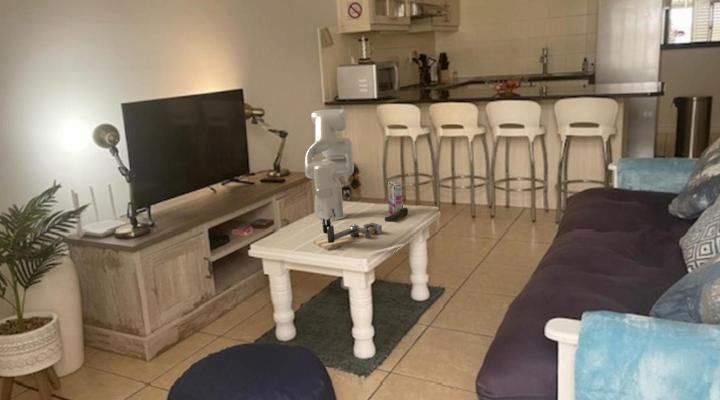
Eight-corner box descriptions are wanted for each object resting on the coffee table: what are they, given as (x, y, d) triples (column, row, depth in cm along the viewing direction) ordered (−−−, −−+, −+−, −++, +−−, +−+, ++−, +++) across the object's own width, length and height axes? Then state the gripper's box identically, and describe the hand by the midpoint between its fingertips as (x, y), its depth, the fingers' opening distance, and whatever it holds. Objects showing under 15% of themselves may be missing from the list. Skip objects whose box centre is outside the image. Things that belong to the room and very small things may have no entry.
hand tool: (391, 224, 292) (390, 215, 291) (384, 223, 294) (384, 214, 293) (412, 215, 306) (412, 207, 305) (406, 214, 309) (405, 206, 308)
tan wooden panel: (313, 243, 268) (313, 232, 267) (369, 230, 283) (368, 220, 282) (327, 250, 257) (326, 239, 256) (384, 236, 273) (383, 225, 271)
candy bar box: (404, 215, 307) (402, 184, 303) (395, 216, 305) (393, 185, 302) (397, 210, 317) (396, 180, 313) (388, 211, 316) (387, 181, 312)
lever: (325, 245, 260) (324, 226, 258) (355, 233, 275) (353, 215, 273) (342, 248, 254) (341, 229, 252) (371, 236, 269) (370, 218, 267)
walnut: (366, 234, 273) (365, 226, 273) (372, 232, 275) (372, 225, 274) (370, 236, 270) (369, 228, 270) (376, 234, 272) (376, 226, 271)
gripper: (307, 191, 261) (310, 231, 265) (327, 196, 250) (331, 237, 254) (320, 188, 266) (323, 227, 270) (341, 193, 255) (344, 233, 259)
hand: (327, 232), depth 262 cm, fingers closed
